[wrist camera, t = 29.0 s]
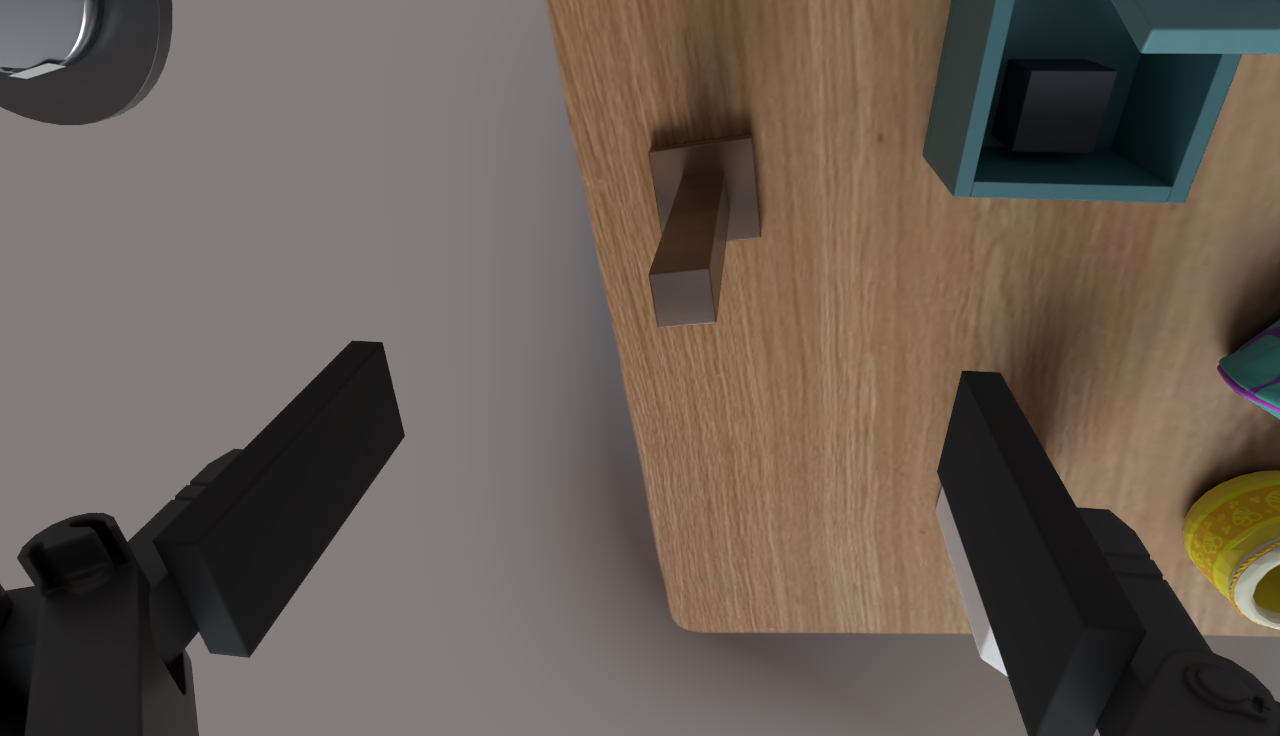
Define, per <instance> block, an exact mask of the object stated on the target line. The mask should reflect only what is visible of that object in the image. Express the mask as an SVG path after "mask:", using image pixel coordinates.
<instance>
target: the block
mask: <svg viewBox="0 0 1280 736" xmlns="http://www.w3.org/2000/svg"><path fill="white" fill-rule="evenodd" d="M1117 73H1118V71H1117V70H1114V69H1111V68H1108V67H1106V66H1103V65H1100V64H1097V63H1094V62H1092V61H1089V60H1084V59H1009V60H1008V64H1007V68H1006V73H1005V77H1004V81H1003V85H1002V90H1001V94H1000V98H999V103H998V107H997V111H996V116H995V120H994V124H993V128H992V133H991V134H992V135H993V136H994V137H995V138H997V139H998V140H999V141H1000V142H1001V143H1003V144H1004V145H1005V146H1006V147H1007V148H1009V149H1010V150H1011V151H1014V152H1062V153H1093V151H1094V147H1095V144H1096V141H1097V138H1098V134H1099V131H1100V128H1101V125H1102V121H1103V118H1104V115H1105V112H1106V108H1107V105H1108V102H1109V99H1110V95H1111V92H1112V89H1113V86H1114V82H1115V79H1116V76H1117Z"/></svg>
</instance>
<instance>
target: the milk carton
mask: <svg viewBox="0 0 1280 736" xmlns="http://www.w3.org/2000/svg"><path fill="white" fill-rule="evenodd" d="M936 514H937V517H938V521H939V524H940V527H941V530H942V534H943V537H944V540H945V544H946V547H947V550H948V553H949V557H950V560H951V563H952V567H953V570H954V573H955V577H956V580H957V583H958V586H959V590H960V593H961V596H962V600H963V603H964V606H965V609H966V613H967V616H968V619H969V623H970V626H971V629H972V632H973V636H974V639H975V642H976V645H977V648H978V651H979V654H980V657H981V658H982V659H983V660H984V661H986V662H987V663H989V664H990V665H992V666H993V667H994V668H996V669H997V670H999V671H1000V672H1002V673H1003V674H1005V675H1006V676H1008V675H1007V673H1006V670H1005V667H1004V664H1003V661H1002V658H1001V655H1000V652H999V649H998V646H997V644H996V641H995V638H994V635H993V632H992V629H991V626H990V623H989V620H988V617H987V615H986V612H985V609H984V606H983V603H982V600H981V597H980V594H979V591H978V588H977V586H976V583H975V580H974V577H973V574H972V571H971V568H970V565H969V562H968V559H967V557H966V554H965V551H964V548H963V545H962V542H961V539H960V536H959V533H958V530H957V528H956V525H955V522H954V519H953V516H952V513H951V510H950V507H949V504H948V501H947V499H946V496H945V493H944V490H943V487H942V489H941V492H940V496H939V499H938V502H937V506H936Z"/></svg>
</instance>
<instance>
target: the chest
mask: <svg viewBox="0 0 1280 736" xmlns="http://www.w3.org/2000/svg"><path fill="white" fill-rule="evenodd" d="M1241 56H1242V54H1181V53H1141V52H1140V51H1139V50H1138V48H1137V46H1136V44H1135V42H1134V41H1133V39H1132V37H1131V35H1130V33H1129V31H1128V30H1127V28H1126V26H1125V24H1124V22H1123V21H1122V19H1121V17H1120V15H1119V13H1118V12H1117V10H1116V8H1115V6H1114V4H1113V3H1112V1H1111V0H952V2H951V7H950V13H949V18H948V23H947V29H946V34H945V39H944V45H943V50H942V55H941V61H940V66H939V71H938V77H937V82H936V87H935V93H934V98H933V103H932V109H931V114H930V119H929V125H928V130H927V135H926V141H925V146H924V151H923V157H924V158H925V160H926V161H927V162H928V164H929V165H930V166H931V168H932V169H933V170H934V172H935V173H936V174H937V176H938V177H939V178H940V179H941V181H942V182H943V183H944V185H945V186H946V187H947V189H948V190H949V191H950V193H951V194H952V195H953V197H981V198H1016V199H1050V200H1085V201H1119V202H1154V203H1166V202H1168V203H1185V201H1186V198H1187V196H1188V193H1189V191H1190V188H1191V185H1192V183H1193V180H1194V178H1195V175H1196V172H1197V170H1198V167H1199V165H1200V162H1201V160H1202V157H1203V154H1204V152H1205V149H1206V147H1207V144H1208V142H1209V139H1210V136H1211V134H1212V131H1213V129H1214V126H1215V123H1216V121H1217V118H1218V116H1219V113H1220V111H1221V108H1222V105H1223V103H1224V100H1225V98H1226V95H1227V92H1228V90H1229V87H1230V85H1231V82H1232V80H1233V77H1234V74H1235V72H1236V69H1237V67H1238V64H1239V61H1240V59H1241ZM1009 59H1084V60H1089V61H1092V62H1094V63H1097V64H1100V65H1103V66H1106V67H1108V68H1111V69H1114V70H1117V71H1118V73H1117V76H1116V79H1115V82H1114V86H1113V89H1112V92H1111V95H1110V99H1109V102H1108V105H1107V108H1106V112H1105V115H1104V118H1103V121H1102V125H1101V128H1100V131H1099V134H1098V138H1097V141H1096V144H1095V147H1094V151H1093V153H1062V152H1014V151H1011V150H1010V149H1009V148H1007V147H1006V146H1005V145H1004V144H1003V143H1001V142H1000V141H999V140H998V139H997V138H995V137H994V136H993V135H992V134H991V133H992V128H993V124H994V120H995V116H996V111H997V107H998V103H999V98H1000V94H1001V90H1002V85H1003V81H1004V77H1005V73H1006V68H1007V64H1008V60H1009Z"/></svg>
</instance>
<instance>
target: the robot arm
mask: <svg viewBox="0 0 1280 736" xmlns="http://www.w3.org/2000/svg"><path fill="white" fill-rule="evenodd" d="M104 6H105V0H0V72H6V73H13V75H10V76H12V77H18V78H25V79H28V78H31V77H34V76H37V75H41V74H44V73H47V72H50V71H55V70H60V69H64V68H67V67H69V66H72V65H74V64H75V63H77V62H79V61H80V60H81V59H83V58H84V57H85V56H86V55H87V54H88V53H89V51H90V50H91V49H92V47H93V46H94V44H95V43H96V41H97V38H98V36H99V34H100V30H101V27H102V23H103V17H104ZM404 436H405V435H404V430H403V426H402V422H401V418H400V414H399V409H398V405H397V401H396V397H395V393H394V389H393V384H392V380H391V376H390V372H389V368H388V363H387V360H386V355H385V351H384V347H383V343H382V342H366V341H351V342H350V343H349V344H348V345H347V346H346V347H345V348H344V349H343V350H342V351H341V352H340V353H339V354H338V355H337V356H336V357H335V358H334V359H333V360H332V362H330V363H329V364H328V365H327V367H325V368H324V369H323V370H322V372H321V373H319V375H317V377H316V378H314V379H313V380H312V381H311V382H310V384H308V386H306V388H305V389H303V390H302V392H300V393H299V394H298V395H297V396H296V397H295V399H293V400H292V401H291V403H289V404H288V406H287V407H285V408H284V410H282V411H281V412H280V413H279V414H278V415H277V417H276V418H274V420H272V421H271V422H270V424H269V425H267V426H266V427H265V429H263V430H262V431H261V432H260V434H258V435H257V437H256V438H255V439H253V440H252V442H251V443H249V444H248V446H247V447H245V448H244V449H243V450H242V449H233V450H231V451H230V452H228V453H226V454H225V455H223V456H221V457H220V458H218V459H217V460H214V461H213V462H211V463H209V464H208V465H207V466H206V467H205V468H204V469H203V470H202V471H201V472H200V473H199V474H198V475H197V476H196V477H195V478H194V479H192V480H191V481H190V485H186V486H185V487H184V488H183V489H182V490H181V491H180V492H179V493H178V494H177V495H176V496H175V500H171V501H170V502H169V503H168V504H167V505H166V506H164V507H163V509H161V510H160V511H159V512H158V513H157V514H156V515H155V516H154V517H153V518H152V519H151V520H150V521H149V522H148V523H147V524H146V525H145V526H144V527H143V528H142V529H141V530H140V531H139V532H137V533H136V534H135V535H134V536H133V537H132V538H131V539H130V540H129V541H128V542H127V541H126V539H125V537H124V535H123V533H122V532H121V530H120V528H119V526H118V524H117V522H116V521H115V519H114V517H112V516H110V515H107V514H105V513H87V514H82V515H78V516H74V517H70V518H68V519H65V520H63V521H60V522H58V523H55V524H53V525H51V526H49V527H48V528H46V529H44V530H43V531H41V532H40V533H38V534H37V535H35V536H34V537H33V538H32V539H31V540H30V541H29V542H28V543H27V544H26V545H24V546H23V547H22V550H21V552H20V554H19V555H18V557H17V559H18V560H19V562H20V563H21V565H22V566H23V568H24V569H25V571H26V573H27V574H28V576H29V577H30V579H31V580H32V581H33V583H34V585H35V586H32V587H26V588H19V589H13V590H7V591H5V590H4V589H3V587H2V586H1V584H0V736H199V733H198V723H197V713H196V704H195V694H194V684H193V674H192V665H191V660H190V658H189V656H188V654H187V652H186V650H185V648H186V646H187V645H188V644H189V643H190V641H191V640H192V639H193V638H194V637H195V635H196V634H197V633H198V632H199V633H200V635H201V636H202V638H203V640H204V642H205V644H206V646H207V648H208V650H209V652H210V653H213V654H222V655H230V656H240V657H248V658H249V657H250V656H251V655H252V653H253V652H254V650H255V649H256V647H257V646H258V645H259V643H260V642H261V640H262V639H263V637H264V636H265V635H266V633H267V632H268V630H269V629H270V628H271V626H272V624H273V623H274V622H275V620H276V619H277V618H278V616H279V615H280V613H281V612H282V610H283V609H284V607H285V606H286V605H287V603H288V602H289V600H290V599H291V598H292V596H293V594H294V593H295V592H296V590H297V589H298V587H299V586H300V585H301V583H302V582H303V581H304V579H305V578H306V576H307V575H308V573H309V572H310V571H311V569H312V568H313V566H314V565H315V563H316V562H317V561H318V559H319V558H320V556H321V555H322V553H323V552H324V551H325V549H326V548H327V546H328V545H329V543H330V542H331V541H332V539H333V538H334V536H335V535H336V533H337V532H338V531H339V529H340V528H341V526H342V525H343V523H344V522H345V521H346V519H347V518H348V516H349V515H350V514H351V512H352V511H353V509H354V508H355V506H356V505H357V503H358V502H359V501H360V499H361V498H362V496H363V495H364V494H365V492H366V490H367V489H368V488H369V486H370V485H371V483H372V482H373V481H374V479H375V478H376V476H377V475H378V474H379V472H380V471H381V469H382V468H383V466H384V465H385V464H386V462H387V461H388V459H389V458H390V456H391V455H392V454H393V452H394V451H395V449H396V448H397V447H398V445H399V444H400V442H401V441H402V439H403V438H404ZM937 472H938V475H939V478H940V481H941V484H942V487H943V490H944V493H945V496H946V499H947V501H948V504H949V507H950V510H951V513H952V516H953V519H954V522H955V525H956V528H957V530H958V533H959V536H960V539H961V542H962V545H963V548H964V551H965V554H966V557H967V559H968V562H969V565H970V568H971V571H972V574H973V577H974V580H975V583H976V586H977V588H978V591H979V594H980V597H981V600H982V603H983V606H984V609H985V612H986V615H987V617H988V620H989V623H990V626H991V629H992V632H993V635H994V638H995V641H996V644H997V646H998V649H999V652H1000V655H1001V658H1002V661H1003V664H1004V667H1005V670H1006V673H1007V675H1008V678H1009V681H1010V684H1011V687H1012V690H1013V693H1014V696H1015V699H1016V702H1017V704H1018V707H1019V710H1020V713H1021V716H1022V719H1023V722H1024V725H1025V727H1026V730H1027V733H1028V736H1093V735H1094V733H1095V731H1096V729H1098V731H1099V733H1100V736H1280V703H1279V702H1277V701H1275V700H1274V698H1273V696H1272V695H1271V693H1270V691H1269V690H1268V689H1267V688H1266V687H1265V686H1264V685H1263V684H1262V683H1261V682H1260V681H1259V680H1258V679H1257V678H1256V677H1255V676H1254V675H1253V674H1251V673H1250V672H1248V671H1247V670H1245V669H1244V668H1242V667H1241V666H1239V665H1238V664H1236V663H1235V662H1233V661H1232V660H1229V659H1227V658H1224V657H1222V656H1219V655H1217V654H1215V653H1213V652H1212V651H1211V649H1210V648H1209V646H1208V644H1207V643H1206V641H1205V640H1204V638H1203V637H1202V635H1201V634H1200V632H1199V630H1198V629H1197V627H1196V626H1195V624H1194V623H1193V621H1192V620H1191V618H1190V616H1189V615H1188V613H1187V612H1186V610H1185V609H1184V607H1183V606H1182V604H1181V602H1180V601H1179V599H1178V598H1177V596H1176V595H1175V593H1174V592H1173V590H1172V588H1171V587H1170V585H1169V584H1168V582H1167V581H1166V580H1163V577H1162V576H1163V574H1162V573H1161V571H1160V570H1159V568H1158V567H1157V565H1156V564H1155V562H1154V560H1150V554H1149V553H1148V551H1147V550H1146V548H1145V546H1144V545H1143V543H1142V542H1141V540H1140V539H1139V537H1138V536H1137V534H1136V533H1135V531H1134V530H1132V529H1131V528H1130V527H1129V526H1128V525H1126V524H1125V523H1124V522H1123V521H1122V520H1120V519H1119V518H1118V517H1117V516H1116V515H1114V514H1113V513H1112V512H1111V511H1110V510H1105V509H1091V508H1077V507H1076V505H1075V504H1074V502H1073V500H1072V498H1071V497H1070V495H1069V493H1068V491H1067V490H1066V488H1065V486H1064V484H1063V483H1062V481H1061V479H1060V477H1059V475H1058V474H1057V472H1056V470H1055V468H1054V467H1053V465H1052V463H1051V461H1050V460H1049V458H1048V456H1047V454H1046V453H1045V451H1044V449H1043V447H1042V446H1041V444H1040V442H1039V440H1038V439H1037V437H1036V435H1035V433H1034V431H1033V430H1032V428H1031V426H1030V424H1029V423H1028V421H1027V419H1026V417H1025V416H1024V414H1023V412H1022V410H1021V409H1020V407H1019V405H1018V403H1017V402H1016V400H1015V398H1014V396H1013V395H1012V393H1011V391H1010V389H1009V388H1008V386H1007V384H1006V382H1005V380H1004V379H1003V377H1002V375H1001V373H998V372H977V371H962V374H961V378H960V382H959V386H958V390H957V394H956V398H955V402H954V406H953V410H952V414H951V418H950V422H949V426H948V430H947V434H946V438H945V442H944V446H943V450H942V454H941V458H940V462H939V466H938V470H937Z"/></svg>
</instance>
